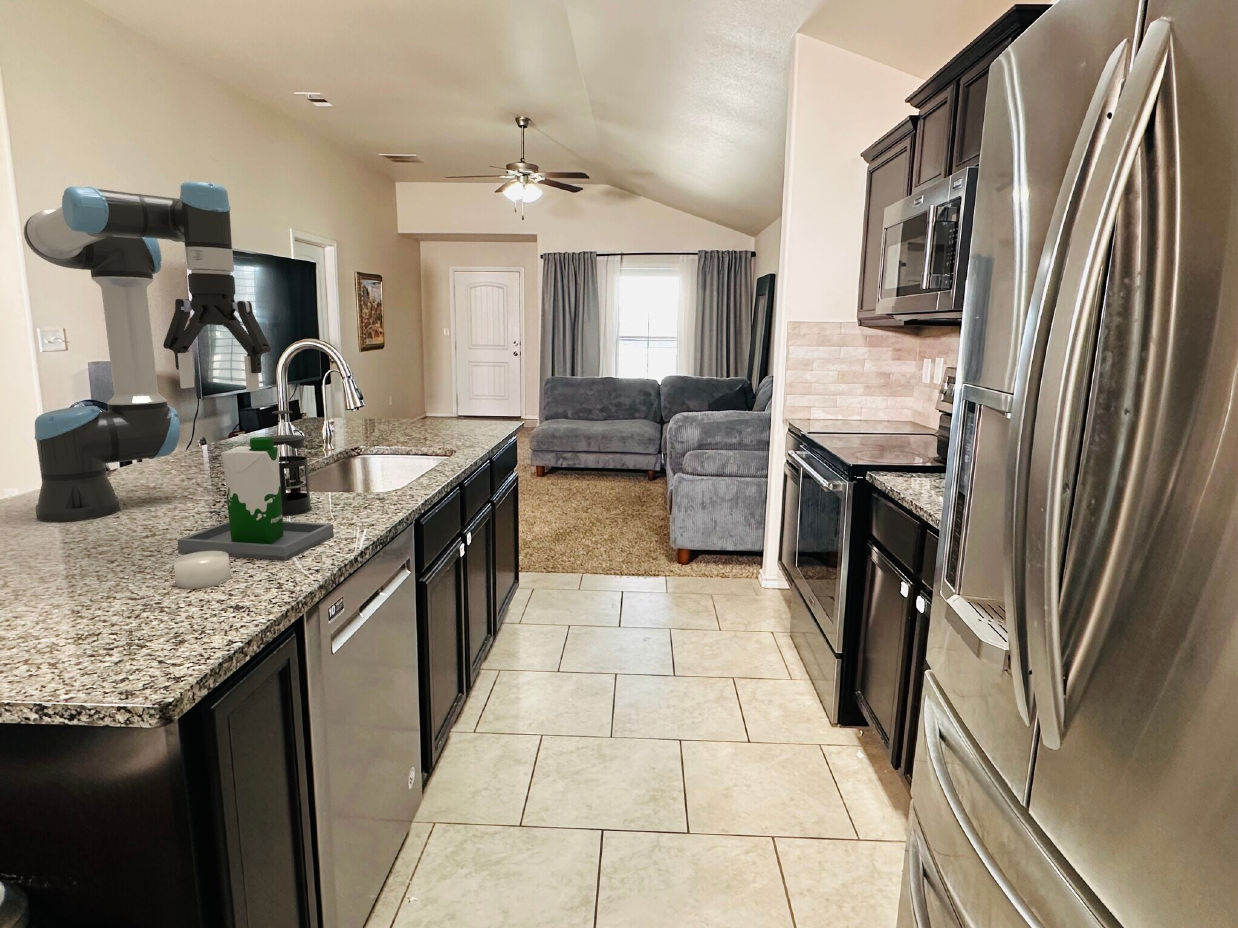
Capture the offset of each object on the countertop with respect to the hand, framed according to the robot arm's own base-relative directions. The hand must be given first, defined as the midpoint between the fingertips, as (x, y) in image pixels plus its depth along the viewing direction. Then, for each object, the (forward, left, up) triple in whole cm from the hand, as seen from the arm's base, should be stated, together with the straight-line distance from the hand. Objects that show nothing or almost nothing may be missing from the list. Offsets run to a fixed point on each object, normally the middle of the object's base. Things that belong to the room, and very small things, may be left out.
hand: (220, 389), depth 139 cm
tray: (+5, 0, -30) cm, 30 cm away
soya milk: (+5, 0, -29) cm, 30 cm away
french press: (-5, +25, -30) cm, 39 cm away
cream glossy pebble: (+9, -20, -30) cm, 37 cm away
